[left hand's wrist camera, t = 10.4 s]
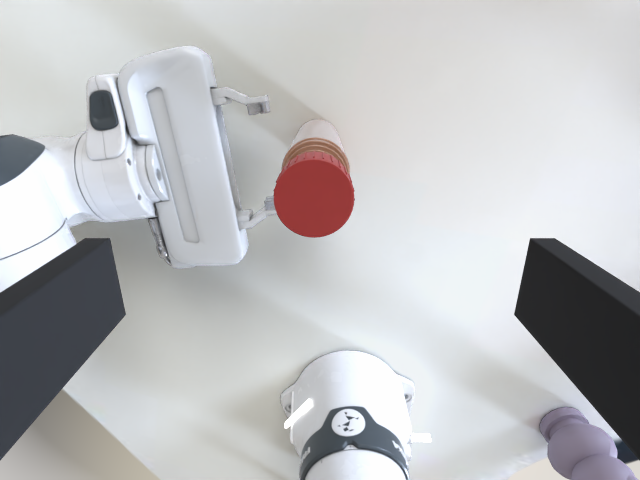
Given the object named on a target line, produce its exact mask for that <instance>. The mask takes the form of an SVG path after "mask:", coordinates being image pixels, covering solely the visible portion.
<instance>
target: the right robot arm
mask: <svg viewBox="0 0 640 480" xmlns="http://www.w3.org/2000/svg"><path fill="white" fill-rule="evenodd" d="M231 99H232V100H235V101H237V102H239V103H242V104H244V105H246V106H247V107H248V112H249V115H253V114H258V113H261V114H262V113H268V112H270V106H269V99H268V95H266V96H257V97H250V98H249V96H247V95H245V94H243V93H240V92H238V91H236V90H234V89H231V88H229V87H223V88H217V83H216V78H215V73H214V68H213V63H212V59H211V57H210V55H208V54H207V53H206V52H204V51H203V50H202V49H200V48H198V47H195V46H181V47H175V48H170V49H166V50H161V51H158V52H154V53H150V54H147V55H144V56H141V57H138V58H136V59H133V60H131V61H130V62H128V63H127V64H125V65H124V66H123V68H122V69H121V71H120V72H119V74H102V75H97V76H93V77H91V78H89V80H88V82H87V131H85V132H82V133H79V134H77V135H76V136H73V137H69V138H63V137H57V136H42V137H35V138H24V137H21V136H17V135H13V134H12V135H4V136H0V292H2V291H3V290H5V289H7V288H8V287H10V286H11V285H13V284H14V283H16V282H18V281H19V280H21V279H22V278H24V277H25V276H27V275H29V274H30V273H32V272H33V271H35V270H36V269H38V268H40V267H41V266H43V265H44V264H46V263H47V262H49V261H51V260H52V259H54V258H55V257H57V256H58V255H60V254H62V253H63V252H65V251H66V250H68V249H69V248H71V247H73V246H74V245H76V244H77V243H76V241H75V239H74V237H73V234H72V232H71V230H70V228H69V227H72V226H76V225H79V224H81V223H83V222H86V221H100V222H118V221H127V220H136V219H144V218H148V221H149V225H150V228H151V231H152V234H153V236H154V239H155V241H156V245H157V246H156V248H157V252H158V254H159V256H160V258H164V260H165V261H166V262H167V263H168V264H169V265H170V266H172V267H173V268H176V269H183V268H192V267H195V266H198V265H201V266H225V265H235V264H237V263H239V262H240V261H241V260H242V259H243V257H244V256H245V254H246V252H247V250H248V247H249V243H248V238H247V233H246V229H251V228H253V227H254V226H255V225H257V224H258V223H259V222H261V221H262V220H263V219H264V218H266V217H267V215H276V214H277V212H276V210H275V206H274V196H269V197H266V200H265V201H264V202H265V207H263V208H262V209H261V210H259V211H258V212H256V213H255V214H254V215H252V214H253V211H252V210H251V209H250V210H242V208H241V203H240V198H239V193H238V188H237V183H236V178H235V173H234V168H233V163H232V158H231V153H230V148H229V143H228V138H227V133H226V128H225V123H224V118H223V113H222V108H221V105H223V104H229V103H231V102H232V101H231ZM168 257H169V258H170V260H169V258H168ZM414 394H415V387H414V383H413V382H412V381H411V380H409V379H407V378H405V377H403V376H400V375H398V374H396V373H395V372H394V371H393V370H392V369H391V368H390V367H389V366H388V365H387V364H386V363H385V362H383V361H382V360H380V359H379V358H377V357H375V356H373V355H370V354H368V353H364V352H359V351H337V352H333V353H329V354H326V355H324V356H321V357H319V358H317V359H316V360H314V361H313V362H311V363H310V364H309V365H308V366H307V367H306V368H305V369H304V370H303V372H302V373H301V375H300V376H299V378H298V380H297V381H296V382H295V383H294V384H293V385H292V386H290V387H289V388H287V389H286V390H285V391H283V392H282V394H281V405H282V407H283V409H284V411H285V413H286V416H287V418H288V420H287V421H286V422H285V428H286V429H287V428H288V427H289V426H290V425H291V427H290V441H291V444H293V445H294V447H295V450H296V452H297V453H298V455H299V457H300V458H301V463H300V471H299V475H300V480H410V479H409V472H408V470H409V468H408V463H407V461H410V460H411V446H410V444H412V441H418V442H431V438H430V435H429V434H411V424H410V420H409V417H410V413H411V408H412V403H413V398H414ZM404 395H405V396H404Z"/></svg>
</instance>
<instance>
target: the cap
mask: <svg viewBox="0 0 640 480" xmlns="http://www.w3.org/2000/svg"><path fill="white" fill-rule="evenodd" d="M276 183H277V184H276V186H275V189H274V206H275V210H276V212H277V215H278V217H279V218H280V220H281V221H282V223H283V224H284V225H285V226H286V227H287V228H289V229H290V230H291V231H293V232H294V233H297V234H299V235H302V236H306V237H323V236H327V235H329V234H332V233H334V232H335V231H337V230H338V229H340V228H341V227H342V226H343V225H344V224H345V223H346V221H347V220H348V219H349V217H350V215H351V213H352V210H353V206H354V200H355V199H354V188H353V185H352V181H351V177H350V174H348V173H347V170H346V167H345V166H343V165H342V164H341V162H340V160H337V159H336V158H334V157H333V156H332V155H329V154H326V153H324V152H315V151H314V152H307V153H306V152H305V153H303V154H300V155H297V156H296V157H295V158H293V159H292V160H289V162H288V164H287V165H286V166H284V167H283V169H282V171H281V173H280V175H279V177H278V179H277V181H276Z"/></svg>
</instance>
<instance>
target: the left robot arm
mask: <svg viewBox="0 0 640 480" xmlns="http://www.w3.org/2000/svg"><path fill="white" fill-rule="evenodd" d="M125 315H126V313H125V309H124V304H123V299H122V294H121V290H120V285H119V280H118V275H117V270H116V266H115V261H114V256H113V251H112V247H111V242H110V238H85V239H84V240H82V241H80V242H79V243H77V244H76V245H74V246H73V247H71V248H69V249H68V250H66V251H65V252H63V253H62V254H60V255H58V256H57V257H55V258H54V259H52V260H51V261H49V262H47V263H46V264H44V265H43V266H41V267H40V268H38V269H36V270H35V271H33V272H32V273H30V274H29V275H27V276H25V277H24V278H22V279H21V280H19V281H18V282H16V283H14V284H13V285H11V286H10V287H8V288H7V289H5V290H3V291H2V292H0V460H1V459H2V458H3V457H4V455H5V454H6V453H7V452H8V451H9V450H10V448H11V447H12V446H13V445H14V444H15V443H16V441H17V440H18V439H19V438H20V437H21V436H22V434H23V433H24V432H25V431H26V430H27V429H28V428H29V426H30V425H31V424H32V423H33V422H34V421H35V419H36V418H37V417H38V416H39V415H40V414H41V412H42V411H43V410H44V409H45V408H46V407H47V405H48V404H49V403H50V402H51V401H52V400H53V399H54V397H55V396H56V395H57V394H58V393H59V391H60V390H61V389H62V388H63V387H64V386H65V385H66V383H67V382H68V381H69V380H70V379H71V378H72V376H73V375H74V374H75V373H76V372H77V371H78V369H79V368H80V367H81V366H82V365H83V364H84V363H85V361H86V360H87V359H88V358H89V357H90V356H91V354H92V353H93V352H94V351H95V350H96V349H97V347H98V346H99V345H100V344H101V343H102V342H103V340H104V339H105V338H106V337H107V336H108V335H109V333H110V332H111V331H112V330H113V329H114V328H115V326H116V325H117V324H118V323H119V322H120V321H121V320H122V318H123V317H124V316H125ZM514 315H515V316H516V317H517V318H518V320H519V321H520V322H521V323H522V324H523V325H524V326H525V328H526V329H527V330H528V331H529V332H530V333H531V335H532V336H533V337H534V338H535V339H536V340H537V342H538V343H539V344H540V345H541V346H542V347H543V349H544V350H545V351H546V352H547V353H548V354H549V356H550V357H551V358H552V359H553V360H554V361H555V363H556V364H557V365H558V366H559V367H560V368H561V369H562V371H563V372H564V373H565V374H566V375H567V376H568V378H569V379H570V380H571V381H572V382H573V383H574V385H575V386H576V387H577V388H578V389H579V390H580V392H581V393H582V394H583V395H584V396H585V397H586V399H587V400H588V401H589V402H590V403H591V404H592V405H593V407H594V408H595V409H596V410H597V411H598V412H599V414H600V415H601V416H602V417H603V418H604V419H605V421H606V422H607V423H608V424H609V425H610V426H611V428H612V429H613V430H614V431H615V432H616V433H617V435H618V436H619V437H620V438H621V439H622V440H623V441H624V443H625V444H626V445H627V446H628V447H629V448H630V450H631V451H632V452H633V453H634V454H635V455H636V457H637V458H638V459H639V460H640V292H638V291H637V290H635V289H633V288H632V287H630V286H629V285H627V284H626V283H624V282H622V281H621V280H619V279H618V278H616V277H615V276H613V275H611V274H610V273H608V272H607V271H605V270H604V269H602V268H600V267H599V266H597V265H596V264H594V263H593V262H591V261H589V260H588V259H586V258H585V257H583V256H582V255H580V254H578V253H577V252H575V251H574V250H572V249H571V248H569V247H567V246H566V245H564V244H563V243H561V242H560V241H558V240H556V239H555V238H530V242H529V247H528V251H527V256H526V261H525V266H524V270H523V275H522V280H521V285H520V290H519V294H518V299H517V304H516V309H515V313H514Z"/></svg>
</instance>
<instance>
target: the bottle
mask: <svg viewBox="0 0 640 480" xmlns="http://www.w3.org/2000/svg"><path fill="white" fill-rule="evenodd" d="M314 151H315V152H324V153H326V154H329V155H332V156H333V157H334V158H336V159H337V160H340V162H341V164H342V165H343V166H345V167H346V170H347V173H348V174H350V167H349V162H348V159H347V156H346V154H345V151H344V148H343V146H342V143H341V140H340V138H339V135H338V132H337V130H336V129H335V127H334V126H333V125H332V124H331V123H329V122H327V121H325V120H322V119H313V120H310V121H308V122H306V123H305V124H303V125H302V127H301V128H300V129H299V131H298V133H297V135H296V137H295V138H294V140H293V142H292V144H291V146H290V148H289V150H288V152H287V153H286V155H285V158H284V160H283V163H282V169H283V167H284V166H286V165H287V164H288V162H289V160H292V159H293V158H295V157H296V156H297V155H300V154H303V153H305V152H306V153H307V152H314Z"/></svg>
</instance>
